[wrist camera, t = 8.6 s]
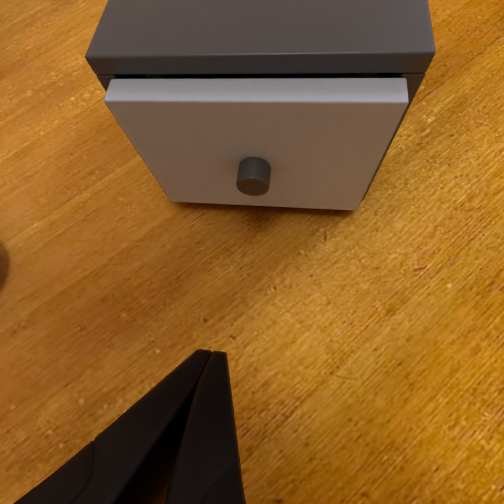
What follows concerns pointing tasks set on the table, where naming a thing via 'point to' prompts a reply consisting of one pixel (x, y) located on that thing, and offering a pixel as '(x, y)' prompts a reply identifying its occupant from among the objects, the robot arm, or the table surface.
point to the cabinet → (264, 39)
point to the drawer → (261, 134)
